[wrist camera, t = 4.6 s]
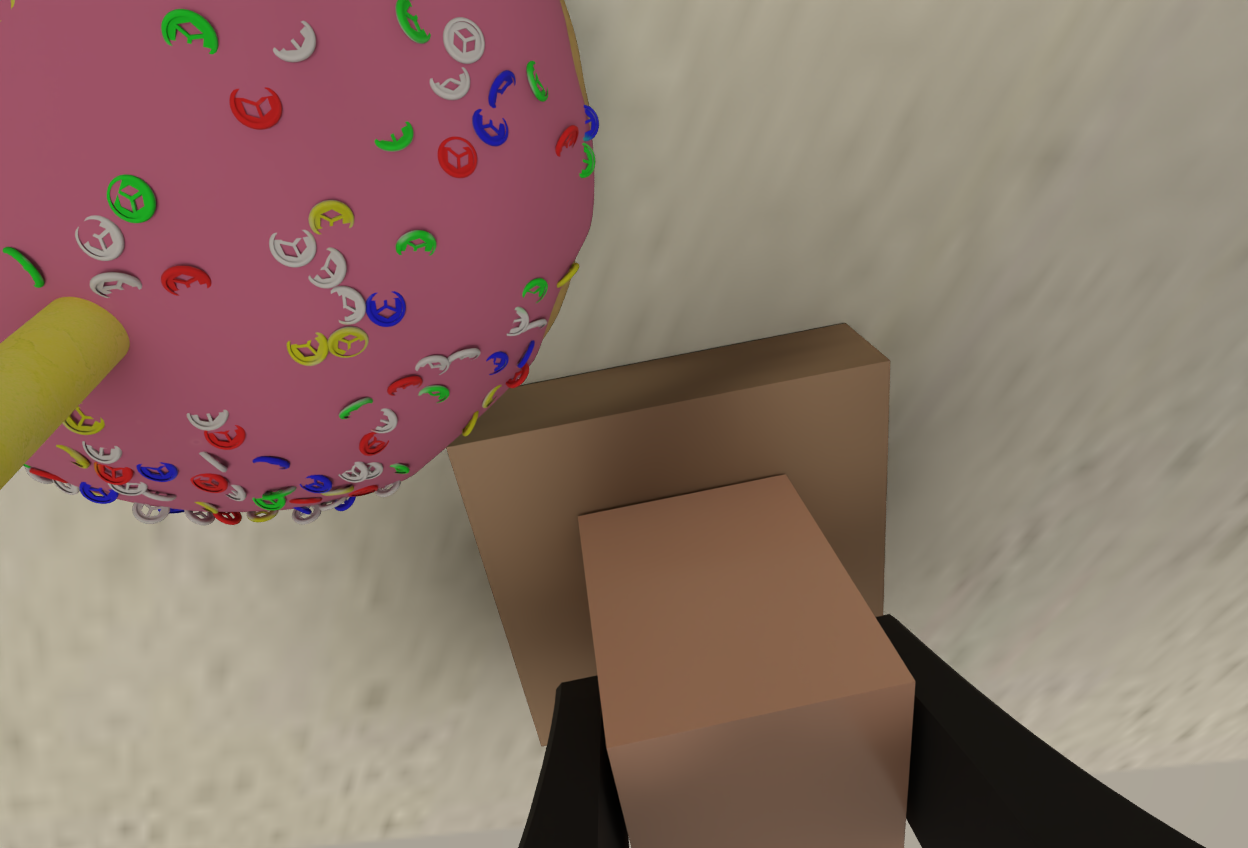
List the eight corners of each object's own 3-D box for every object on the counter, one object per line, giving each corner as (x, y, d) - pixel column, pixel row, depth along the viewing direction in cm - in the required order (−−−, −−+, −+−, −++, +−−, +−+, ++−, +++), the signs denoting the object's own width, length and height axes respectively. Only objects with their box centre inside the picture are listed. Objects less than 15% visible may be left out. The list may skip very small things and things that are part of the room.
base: (845, 323, 14) (890, 360, 13) (847, 614, 18) (881, 674, 16) (455, 398, 14) (446, 447, 12) (540, 678, 18) (541, 746, 16)
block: (792, 628, 15) (903, 860, 11) (611, 666, 15) (649, 918, 11) (786, 473, 13) (916, 681, 9) (577, 516, 13) (607, 748, 9)
